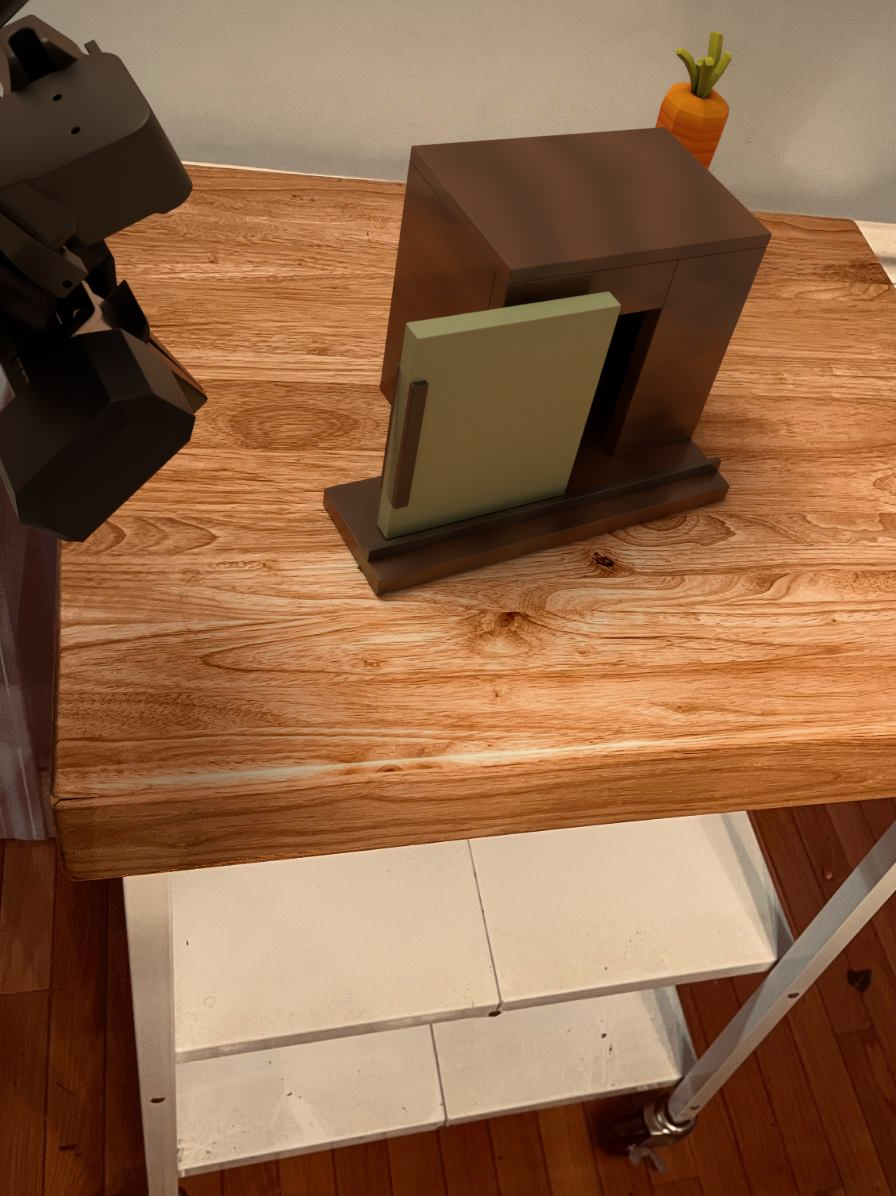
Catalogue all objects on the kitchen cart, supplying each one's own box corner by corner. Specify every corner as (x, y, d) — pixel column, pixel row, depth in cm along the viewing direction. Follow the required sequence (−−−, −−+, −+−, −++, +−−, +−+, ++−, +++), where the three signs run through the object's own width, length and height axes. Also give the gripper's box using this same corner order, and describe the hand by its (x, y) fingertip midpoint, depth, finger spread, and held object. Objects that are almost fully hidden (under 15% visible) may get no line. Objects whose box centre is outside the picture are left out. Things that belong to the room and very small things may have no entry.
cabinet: (376, 596, 61) (414, 350, 49) (266, 408, 68) (277, 154, 56) (724, 499, 72) (821, 281, 61) (599, 347, 79) (664, 126, 68)
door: (388, 544, 62) (420, 343, 52) (374, 520, 62) (402, 318, 53) (567, 498, 67) (625, 309, 58) (551, 477, 68) (606, 287, 58)
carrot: (663, 260, 88) (726, 64, 77) (612, 227, 90) (667, 29, 79) (700, 240, 91) (765, 49, 80) (650, 208, 93) (708, 16, 82)
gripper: (107, 168, 30) (439, 418, 44) (-71, -144, 39) (251, 144, 52) (-177, 459, 32) (226, 612, 45) (-285, 97, 41) (79, 316, 54)
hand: (197, 402), depth 49 cm, fingers closed
